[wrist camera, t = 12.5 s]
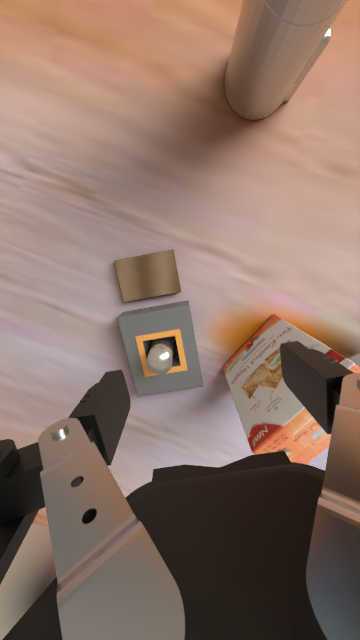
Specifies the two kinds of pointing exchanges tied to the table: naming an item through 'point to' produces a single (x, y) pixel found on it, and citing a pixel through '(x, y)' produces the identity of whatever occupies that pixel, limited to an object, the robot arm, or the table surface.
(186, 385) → the hole block
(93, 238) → the table surface
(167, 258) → the brown rectangular block
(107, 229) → the table surface
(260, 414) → the cracker box
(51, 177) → the table surface
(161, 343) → the steel peg
